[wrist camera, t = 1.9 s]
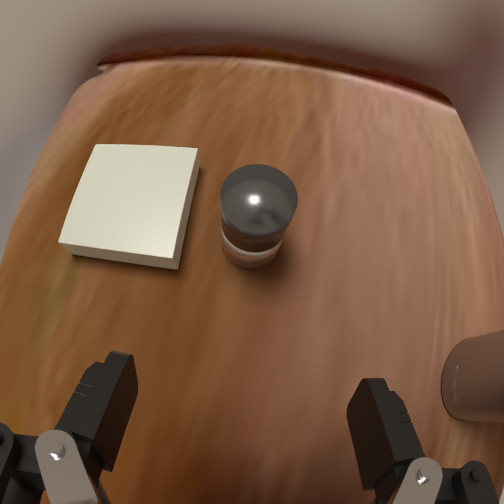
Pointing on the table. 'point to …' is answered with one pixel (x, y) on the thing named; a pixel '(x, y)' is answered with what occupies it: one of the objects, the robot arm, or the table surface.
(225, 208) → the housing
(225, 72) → the table surface
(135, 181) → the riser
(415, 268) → the table surface
